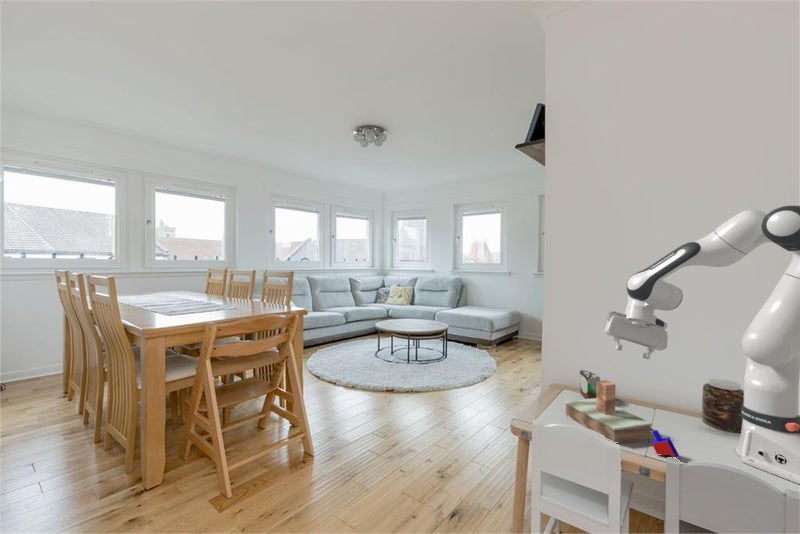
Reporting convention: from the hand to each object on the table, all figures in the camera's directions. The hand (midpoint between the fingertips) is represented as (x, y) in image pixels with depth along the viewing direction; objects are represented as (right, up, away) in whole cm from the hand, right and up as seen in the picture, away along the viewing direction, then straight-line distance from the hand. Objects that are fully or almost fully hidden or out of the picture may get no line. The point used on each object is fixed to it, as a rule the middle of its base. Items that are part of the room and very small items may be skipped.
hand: (632, 354), depth 134 cm
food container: (-5, -23, +19) cm, 30 cm away
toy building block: (-7, -24, -26) cm, 36 cm away
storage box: (-14, -23, -7) cm, 28 cm away
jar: (+28, -23, -6) cm, 37 cm away
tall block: (-14, -18, -7) cm, 24 cm away
